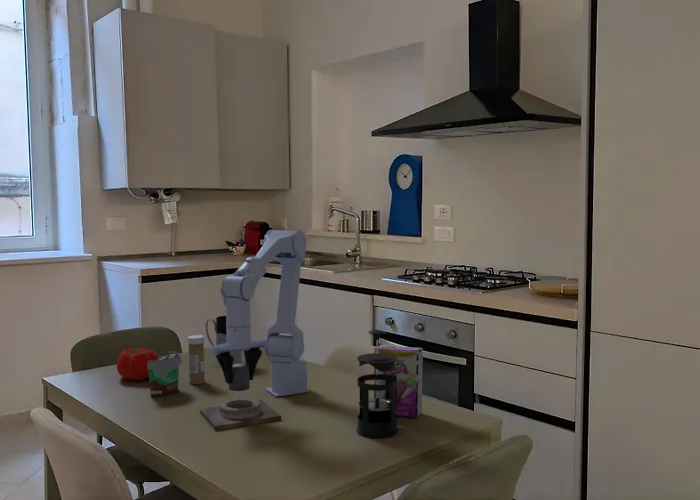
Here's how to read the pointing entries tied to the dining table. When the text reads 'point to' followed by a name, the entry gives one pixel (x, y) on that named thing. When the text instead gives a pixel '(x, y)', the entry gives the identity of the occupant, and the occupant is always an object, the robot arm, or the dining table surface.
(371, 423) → the french press
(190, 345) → the sprinkles bottle
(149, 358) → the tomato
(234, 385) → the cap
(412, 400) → the candy bar box
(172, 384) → the food container
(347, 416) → the dining table surface
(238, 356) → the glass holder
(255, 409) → the collar
